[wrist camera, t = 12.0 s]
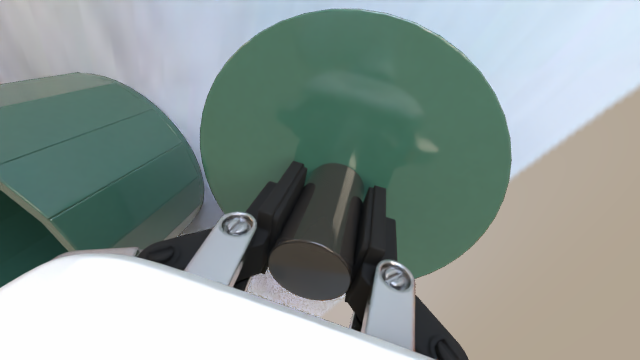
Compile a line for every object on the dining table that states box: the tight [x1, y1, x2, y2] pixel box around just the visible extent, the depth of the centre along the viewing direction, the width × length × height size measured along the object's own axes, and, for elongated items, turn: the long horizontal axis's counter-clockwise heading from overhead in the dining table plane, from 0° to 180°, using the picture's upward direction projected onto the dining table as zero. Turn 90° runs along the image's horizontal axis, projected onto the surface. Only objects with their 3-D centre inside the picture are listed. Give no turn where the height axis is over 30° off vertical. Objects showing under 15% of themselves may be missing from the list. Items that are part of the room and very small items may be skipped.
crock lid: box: [200, 9, 512, 301], centre depth 11 cm, size 16×16×7 cm
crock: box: [0, 72, 204, 288], centre depth 18 cm, size 15×15×10 cm
